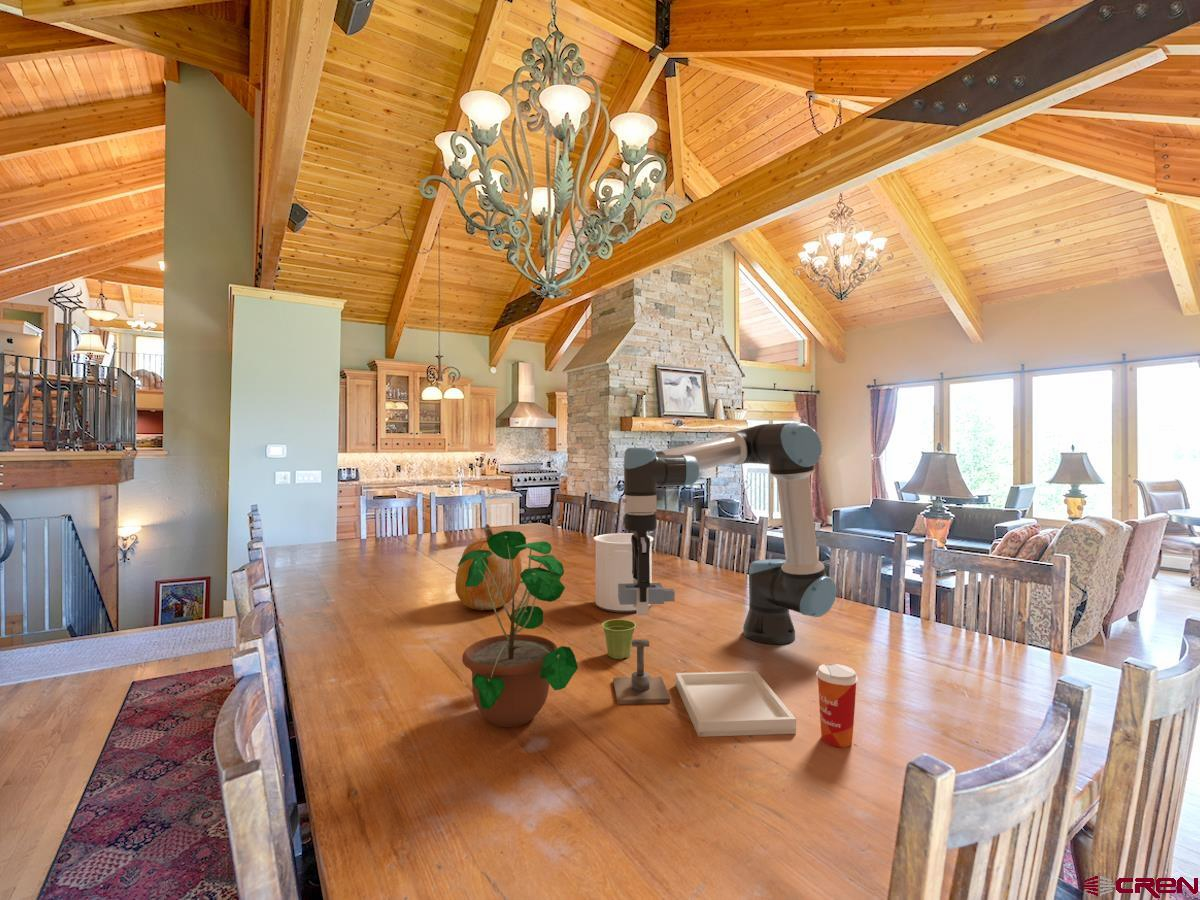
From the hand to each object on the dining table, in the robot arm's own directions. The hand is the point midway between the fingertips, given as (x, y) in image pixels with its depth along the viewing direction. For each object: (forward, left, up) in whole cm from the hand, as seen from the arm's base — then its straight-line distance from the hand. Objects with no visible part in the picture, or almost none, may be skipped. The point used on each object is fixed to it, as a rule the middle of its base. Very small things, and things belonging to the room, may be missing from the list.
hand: (640, 610), depth 134 cm
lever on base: (0, 0, -19) cm, 19 cm away
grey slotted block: (-1, 0, +2) cm, 3 cm away
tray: (-19, +9, -19) cm, 28 cm away
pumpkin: (+45, -73, -20) cm, 88 cm away
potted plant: (+26, +9, -20) cm, 34 cm away
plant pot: (+3, -23, -20) cm, 30 cm away
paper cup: (-36, +24, -20) cm, 47 cm away
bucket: (-3, -71, -20) cm, 74 cm away
